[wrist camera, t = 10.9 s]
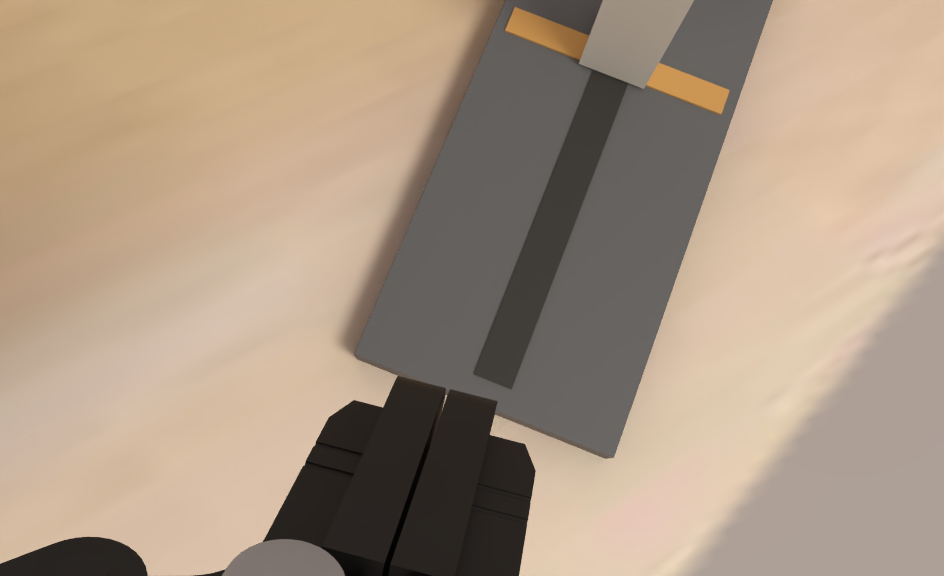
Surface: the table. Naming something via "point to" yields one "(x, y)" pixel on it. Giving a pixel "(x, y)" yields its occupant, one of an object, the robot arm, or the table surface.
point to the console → (561, 218)
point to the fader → (632, 37)
